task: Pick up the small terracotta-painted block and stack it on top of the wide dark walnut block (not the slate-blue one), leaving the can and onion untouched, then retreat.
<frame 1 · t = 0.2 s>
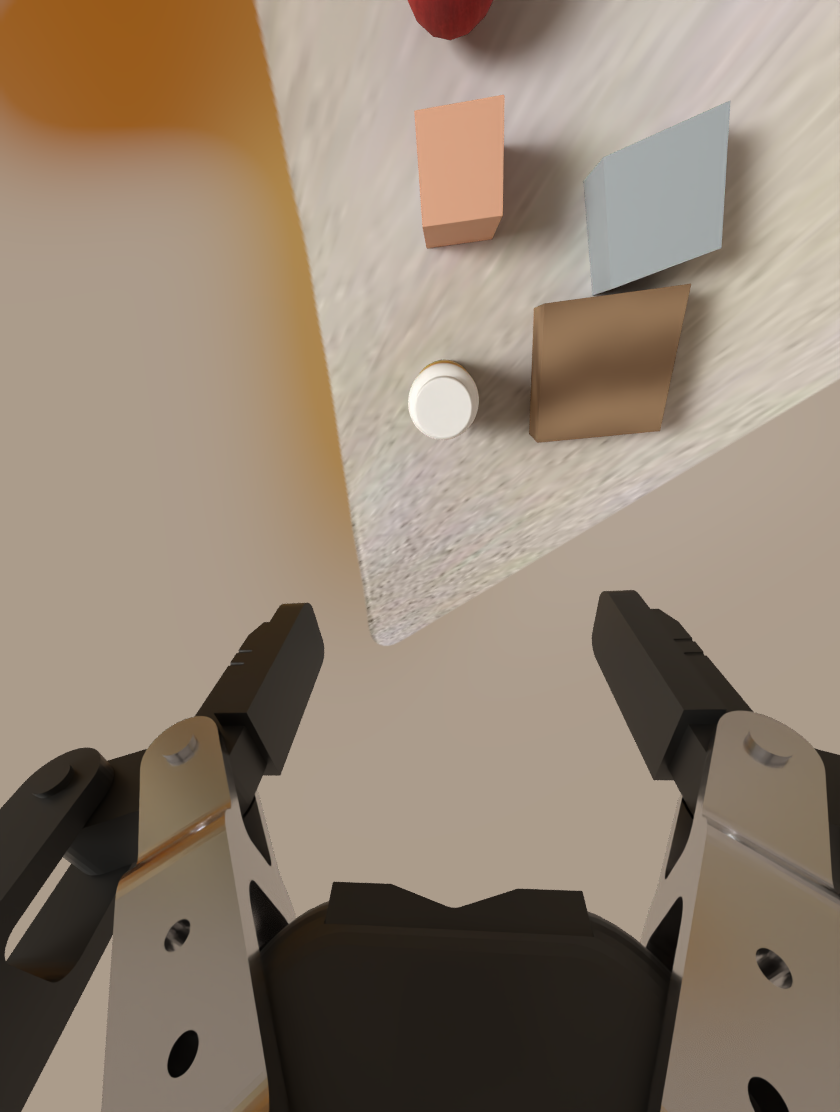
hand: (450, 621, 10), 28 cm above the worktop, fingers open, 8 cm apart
slate block: (636, 222, 27), on the worktop
walnut block: (588, 368, 32), on the worktop
supplement bottle: (443, 392, 33), on the worktop
onion: (451, 2, 22), on the worktop
terracotta block: (457, 200, 27), on the worktop
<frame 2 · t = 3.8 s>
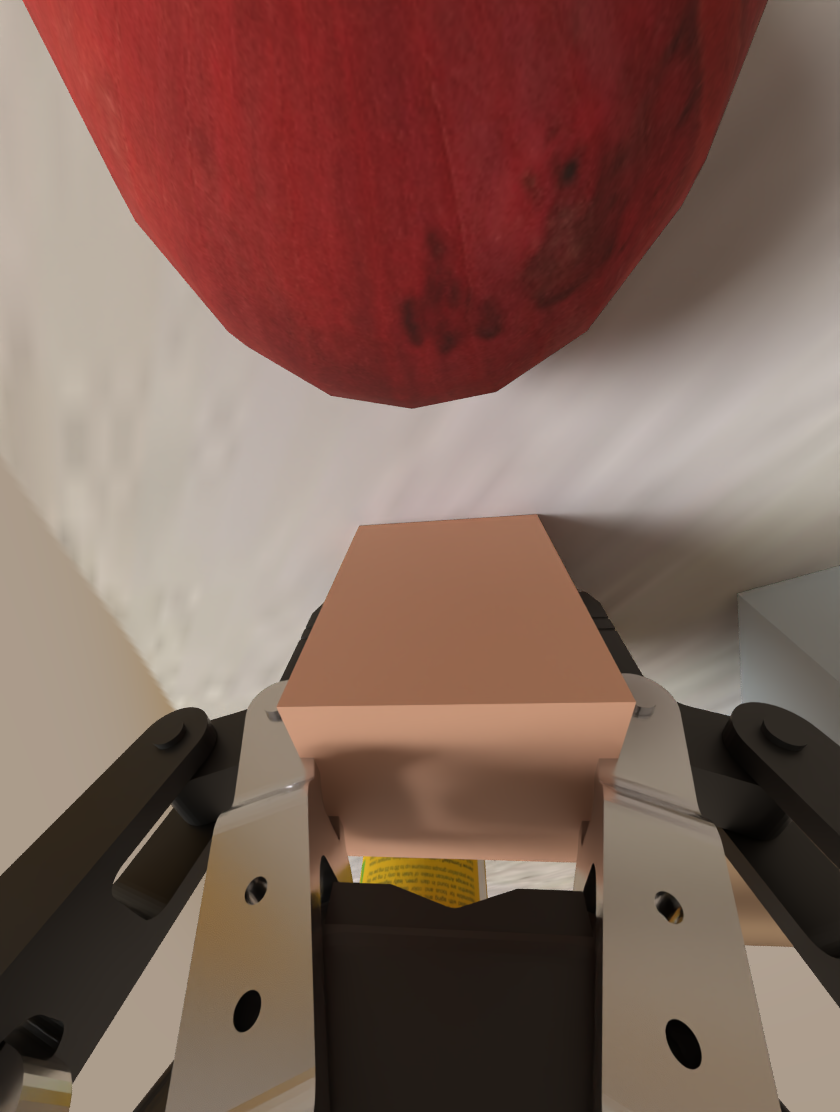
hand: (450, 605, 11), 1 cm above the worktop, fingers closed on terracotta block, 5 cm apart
walnut block: (699, 787, 17), on the worktop
supplement bottle: (426, 795, 18), on the worktop
onion: (424, 215, 7), on the worktop
terracotta block: (450, 591, 11), on the worktop, touching gripper
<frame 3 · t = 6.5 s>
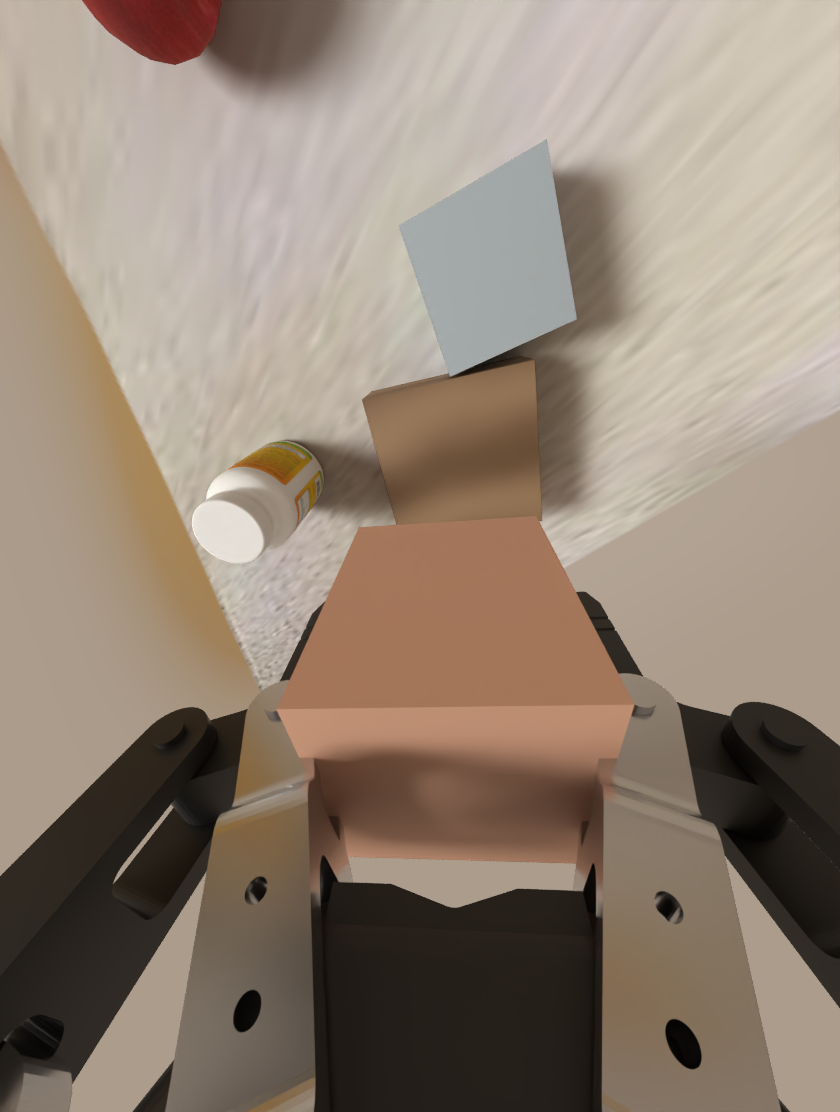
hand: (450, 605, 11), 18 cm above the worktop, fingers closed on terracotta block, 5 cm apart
slate block: (483, 283, 21), on the worktop
walnut block: (456, 447, 27), on the worktop
supplement bottle: (291, 473, 28), on the worktop
onion: (191, 9, 17), on the worktop
terracotta block: (450, 593, 11), point 17 cm above the worktop, touching gripper
when the fingers open (6 cm above the worktop, at t = 9.5 s): terracotta block drops 1 cm, resting on walnut block.
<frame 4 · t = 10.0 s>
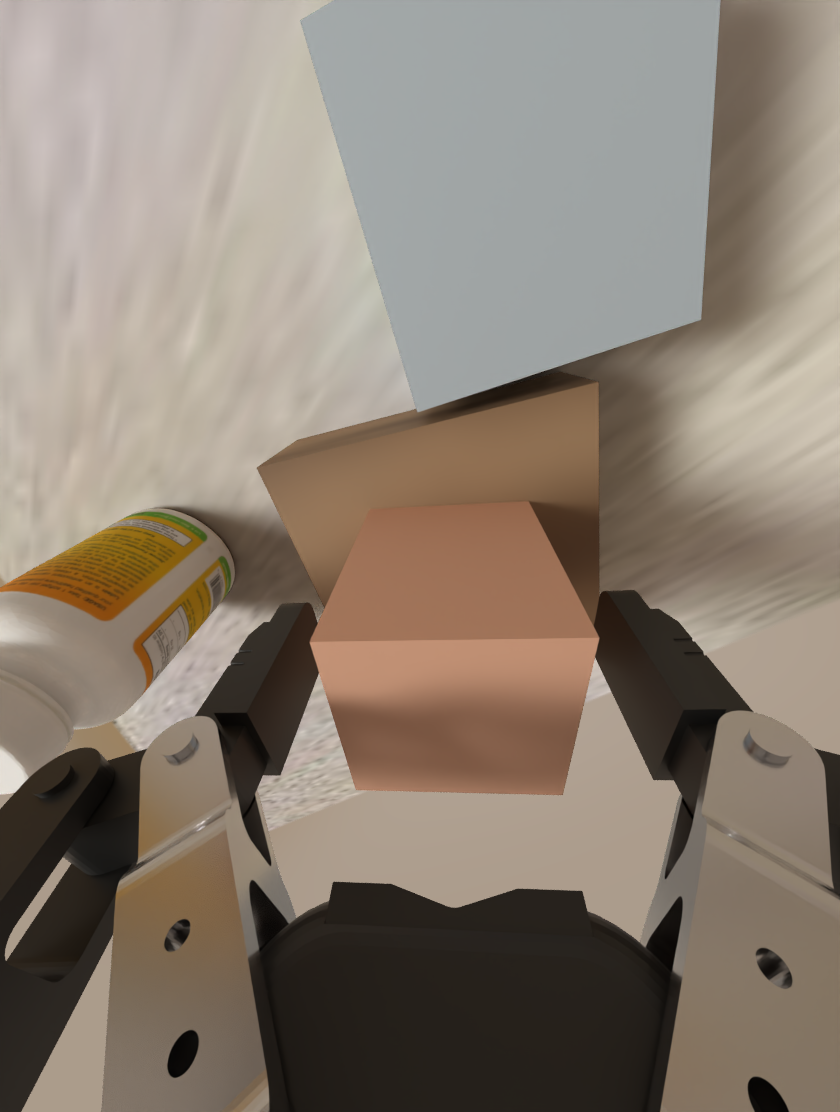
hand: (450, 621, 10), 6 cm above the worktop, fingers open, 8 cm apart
slate block: (500, 236, 11), on the worktop
walnut block: (448, 522, 16), on the worktop, touching terracotta block
supplement bottle: (184, 554, 18), on the worktop
terracotta block: (450, 571, 13), point 4 cm above the worktop, touching walnut block
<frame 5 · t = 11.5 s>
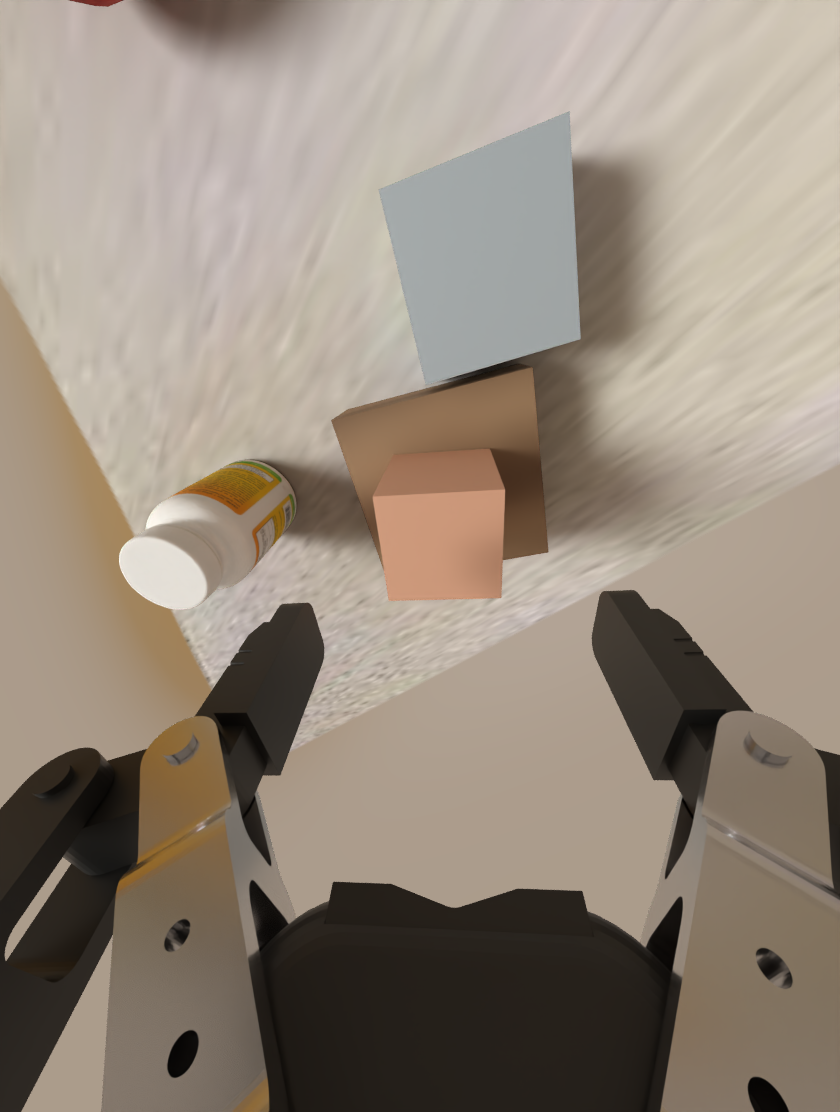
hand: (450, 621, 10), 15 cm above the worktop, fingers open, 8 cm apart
slate block: (478, 283, 18), on the worktop
walnut block: (447, 469, 23), on the worktop, touching terracotta block
supplement bottle: (260, 496, 25), on the worktop
terracotta block: (443, 497, 20), point 4 cm above the worktop, touching walnut block
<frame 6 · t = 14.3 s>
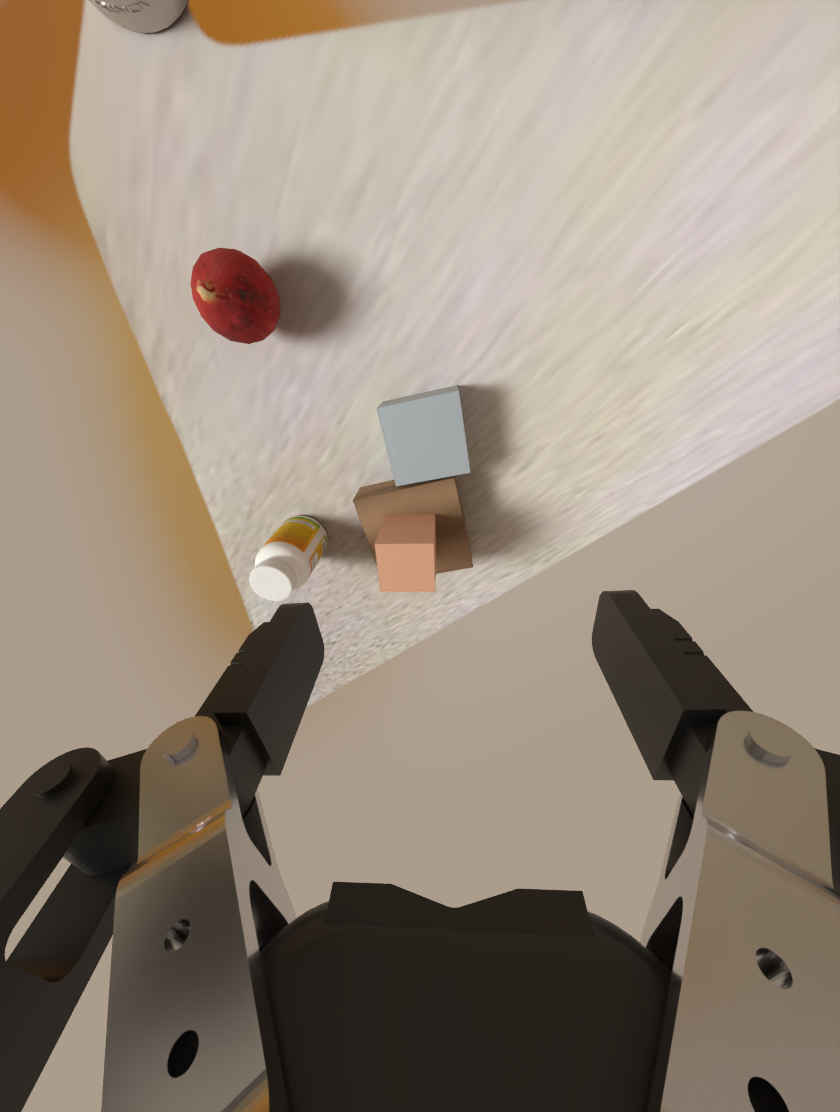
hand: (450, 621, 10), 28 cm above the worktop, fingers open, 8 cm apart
slate block: (427, 431, 35), on the worktop
walnut block: (417, 518, 40), on the worktop, touching terracotta block
supplement bottle: (305, 534, 42), on the worktop
onion: (260, 303, 30), on the worktop
terracotta block: (411, 536, 37), point 4 cm above the worktop, touching walnut block
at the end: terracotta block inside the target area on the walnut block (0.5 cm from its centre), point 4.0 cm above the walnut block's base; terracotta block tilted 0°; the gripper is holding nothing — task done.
